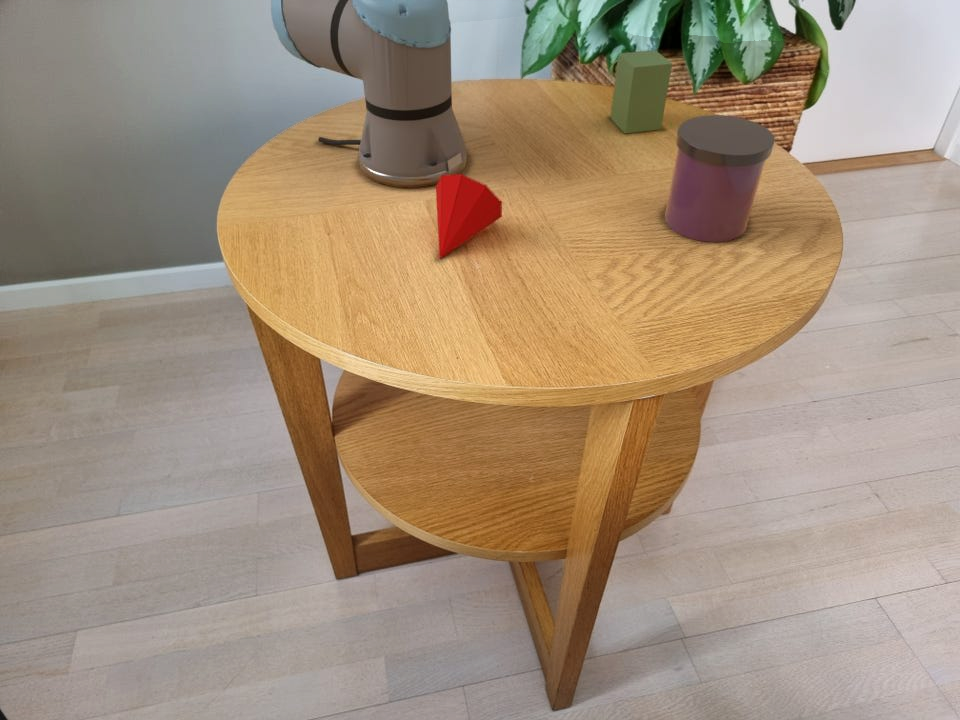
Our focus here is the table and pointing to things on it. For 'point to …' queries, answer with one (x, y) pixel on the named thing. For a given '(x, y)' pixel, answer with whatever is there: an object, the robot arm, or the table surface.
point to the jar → (716, 176)
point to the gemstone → (463, 210)
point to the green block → (640, 91)
